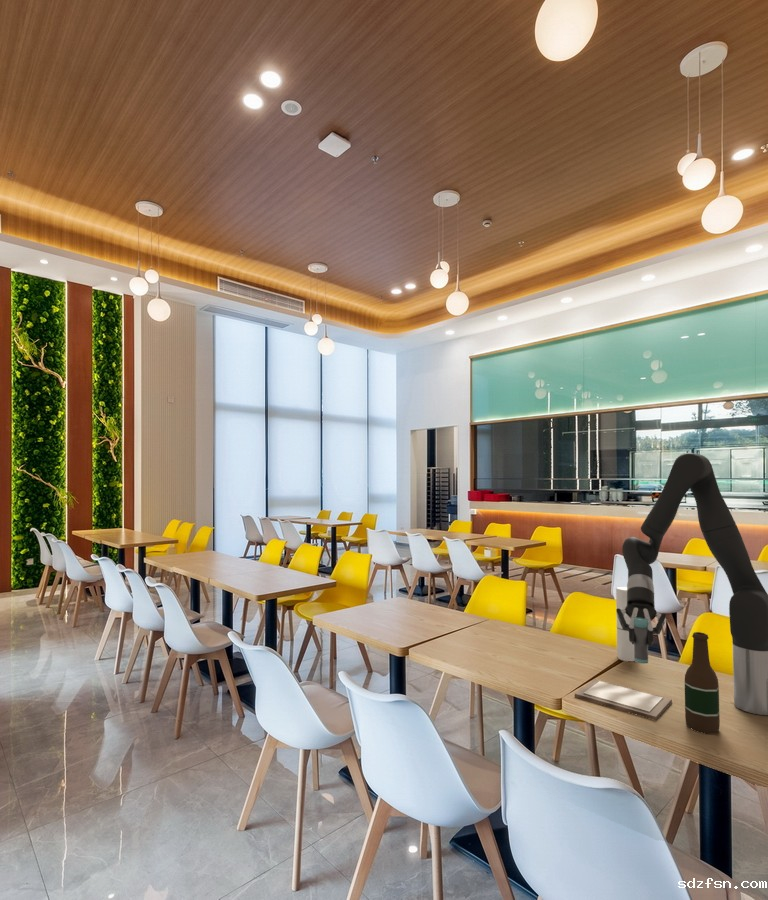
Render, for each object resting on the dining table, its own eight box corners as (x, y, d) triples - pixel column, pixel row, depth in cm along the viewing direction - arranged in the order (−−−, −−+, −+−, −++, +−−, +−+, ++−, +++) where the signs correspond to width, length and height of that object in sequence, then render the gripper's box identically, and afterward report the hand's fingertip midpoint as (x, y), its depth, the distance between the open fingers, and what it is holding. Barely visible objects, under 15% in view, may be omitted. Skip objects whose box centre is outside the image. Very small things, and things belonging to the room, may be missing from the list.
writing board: (671, 702, 151) (671, 698, 151) (656, 720, 139) (655, 715, 139) (594, 682, 166) (594, 678, 166) (574, 696, 154) (574, 692, 154)
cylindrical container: (642, 662, 186) (641, 590, 187) (622, 661, 186) (621, 590, 187) (633, 655, 193) (632, 586, 194) (613, 655, 193) (612, 586, 194)
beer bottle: (715, 723, 138) (713, 631, 139) (724, 737, 130) (721, 639, 132) (682, 719, 140) (680, 628, 142) (688, 731, 133) (686, 635, 134)
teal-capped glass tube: (650, 661, 151) (649, 619, 151) (646, 664, 148) (645, 621, 149) (636, 658, 153) (635, 616, 154) (632, 661, 150) (631, 619, 151)
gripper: (614, 583, 162) (613, 633, 150) (666, 588, 155) (669, 640, 144) (615, 597, 166) (614, 647, 154) (666, 602, 160) (668, 654, 148)
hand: (641, 643), depth 149 cm, fingers closed on teal-capped glass tube, 3 cm apart
